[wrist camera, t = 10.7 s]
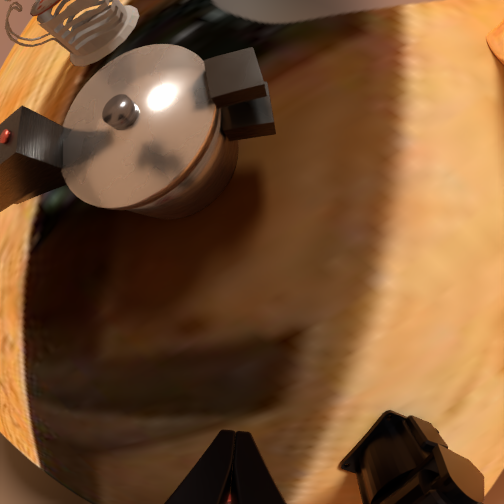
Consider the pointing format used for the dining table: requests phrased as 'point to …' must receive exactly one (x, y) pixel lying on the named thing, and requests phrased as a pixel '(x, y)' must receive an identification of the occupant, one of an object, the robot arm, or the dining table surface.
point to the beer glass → (497, 41)
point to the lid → (128, 127)
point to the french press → (82, 27)
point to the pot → (205, 162)
